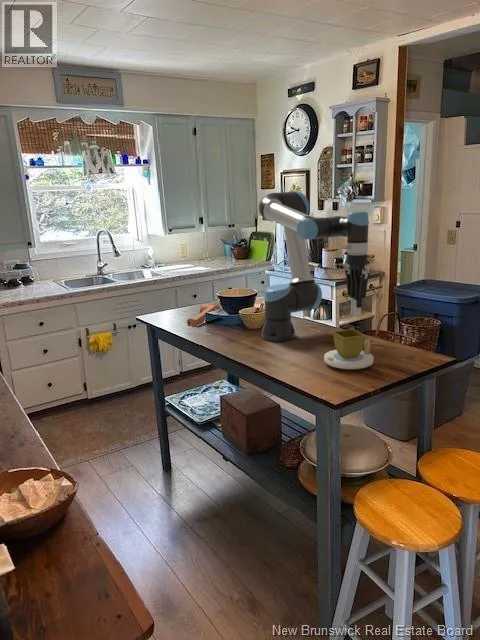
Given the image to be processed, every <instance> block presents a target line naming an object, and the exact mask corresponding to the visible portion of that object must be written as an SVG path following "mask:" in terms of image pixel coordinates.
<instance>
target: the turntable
mask: <svg viewBox="0 0 480 640" xmlns="http://www.w3.org/2000/svg"><path fill="white" fill-rule="evenodd" d="M363 348H364V350H362V351H361V352H360V354H359V355H358V357H354V358H347V359H345V358H343V357H342V356H341V355H339V353H338V352H337V350H336V349H333V350H330V351H327V352H326V353H324V355H323V363H325V364H327V365H328V366H330V367H333V368H334V367H336V368H335V369H337V368H342V369H360V370H362V369H361V368H363V369H366V368H368V367H371V366H372V365H373V364H374V361H375V360H374V355H373V354H371V352H370V351H371V349H370V348H371V340H369V339H366V340H365V339H364V343H363Z"/></svg>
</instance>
